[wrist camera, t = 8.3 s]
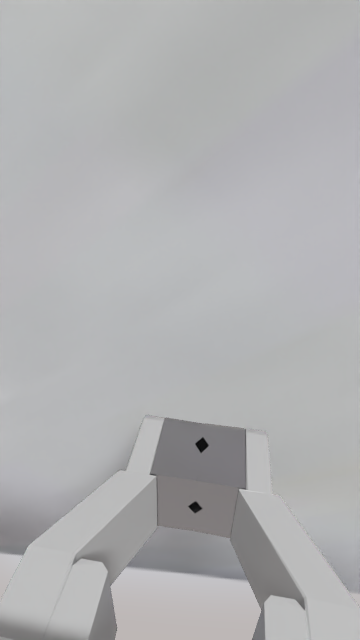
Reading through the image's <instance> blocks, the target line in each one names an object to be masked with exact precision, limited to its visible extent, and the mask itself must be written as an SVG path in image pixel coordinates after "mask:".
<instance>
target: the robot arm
mask: <svg viewBox="0 0 360 640" xmlns="http://www.w3.org/2000/svg"><path fill="white" fill-rule="evenodd" d="M157 526H164V527H171V528H178V529H185V530H192V531H197V532H202V533H207V534H212V535H217V536H222V537H227V538H230V541H231V543H232V546H233V548H234V550H235V552H236V555H237V557H238V559H239V561H240V563H241V566H242V568H243V570H244V572H245V575H246V577H247V579H248V581H249V583H250V586H251V588H252V590H253V592H254V594H255V597H256V599H257V601H258V603H259V606H260V608H261V610H262V611H261V614H260V617H259V620H258V623H257V626H256V629H255V632H254V636H253V638H252V640H360V607H359V605H358V604H357V603H356V601H355V600H354V598H353V597H352V596H351V594H350V593H349V591H348V590H347V589H346V587H345V586H344V584H343V583H342V582H341V580H340V579H339V577H338V576H337V575H336V573H335V572H334V570H333V569H332V568H331V566H330V565H329V563H328V562H327V561H326V559H325V558H324V556H323V555H322V554H321V552H320V551H319V549H318V548H317V547H316V545H315V544H314V542H313V541H312V540H311V538H310V537H309V535H308V534H307V533H306V531H305V530H304V528H303V527H302V526H301V524H300V523H299V521H298V520H297V519H296V517H295V516H294V514H293V513H292V512H291V510H290V509H289V507H288V506H287V505H286V503H285V502H284V500H283V499H282V498H281V496H280V495H276V494H273V489H272V477H271V465H270V453H269V441H268V434H267V432H266V431H260V430H253V429H244V428H238V427H230V426H222V425H214V424H206V423H205V424H202V423H196V422H190V421H184V420H178V419H171V418H163V417H157V416H150V415H146V416H145V417H144V419H143V420H142V423H141V426H140V429H139V432H138V435H137V438H136V441H135V444H134V447H133V450H132V453H131V456H130V459H129V462H128V465H127V468H126V471H123V470H119V471H118V472H116V473H115V474H114V475H113V476H112V477H110V478H109V479H108V480H107V481H106V482H104V483H103V484H102V485H101V486H100V487H98V488H97V489H96V490H95V491H94V492H92V493H91V494H90V495H89V496H88V497H86V498H85V499H84V500H83V501H81V502H80V503H79V504H78V505H77V506H75V507H74V508H73V509H72V510H71V511H69V512H68V513H67V514H66V515H65V516H63V517H62V518H61V519H60V520H59V521H57V522H56V523H55V524H54V525H53V526H51V527H50V528H49V529H48V530H47V531H45V532H44V533H43V534H42V535H41V536H39V537H38V538H37V539H36V540H35V541H33V542H32V543H31V544H30V545H29V546H28V547H27V549H26V551H25V553H24V555H23V557H22V559H21V561H20V563H19V565H18V567H17V569H16V571H15V573H14V575H13V577H12V579H11V581H10V583H9V585H8V587H7V589H6V591H5V593H4V595H3V597H2V599H1V600H0V640H115V636H116V631H117V625H116V619H115V614H114V607H113V601H112V595H111V588H110V586H111V585H112V583H113V582H114V581H115V580H116V578H117V577H118V576H119V575H120V574H121V572H122V571H123V570H124V569H125V567H126V566H127V565H128V564H129V562H130V561H131V560H132V559H133V558H134V556H135V555H136V554H137V553H138V551H139V550H140V549H141V548H142V546H143V545H144V544H145V543H146V542H147V540H148V539H149V538H150V537H151V535H152V534H153V533H154V532H155V530H156V529H157Z"/></svg>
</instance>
